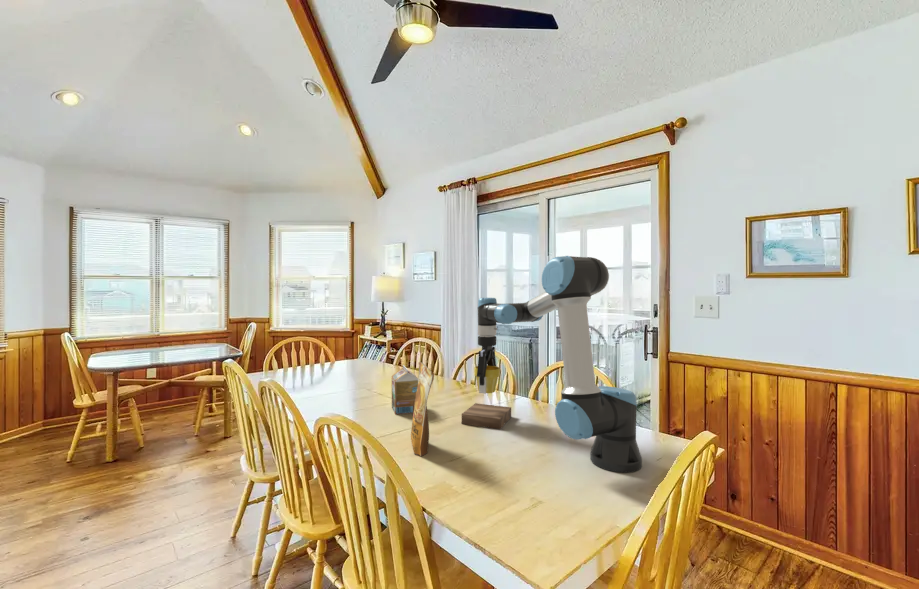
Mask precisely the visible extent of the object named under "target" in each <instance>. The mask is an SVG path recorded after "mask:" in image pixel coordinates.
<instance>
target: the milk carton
mask: <svg viewBox="0 0 919 589" xmlns="http://www.w3.org/2000/svg"><path fill="white" fill-rule="evenodd" d="M417 387H418V377H417V376H416V375H415V374H414V373H413V372H412V371H410V370H409V369H408V368H407V367H406V366H405V364H402V368H401V369H398V371H396V372H394V373H393V374H392V376H391V408H392V411H393V413H394V414H395V415H403V414H404V415H407V414H413V412H414V405H415V399H416V393H417Z"/></svg>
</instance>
